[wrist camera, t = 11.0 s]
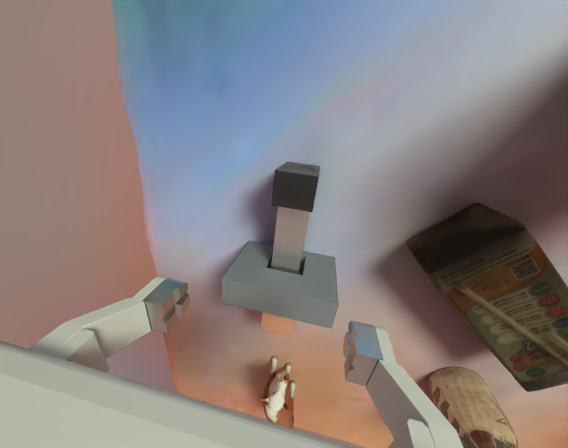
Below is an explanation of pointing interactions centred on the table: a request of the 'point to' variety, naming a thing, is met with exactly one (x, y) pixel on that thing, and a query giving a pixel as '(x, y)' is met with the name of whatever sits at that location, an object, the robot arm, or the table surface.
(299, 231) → the shaft
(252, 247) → the block
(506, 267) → the beverage carton
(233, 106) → the table surface
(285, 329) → the block
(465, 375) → the figurine
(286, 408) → the bull figurine
